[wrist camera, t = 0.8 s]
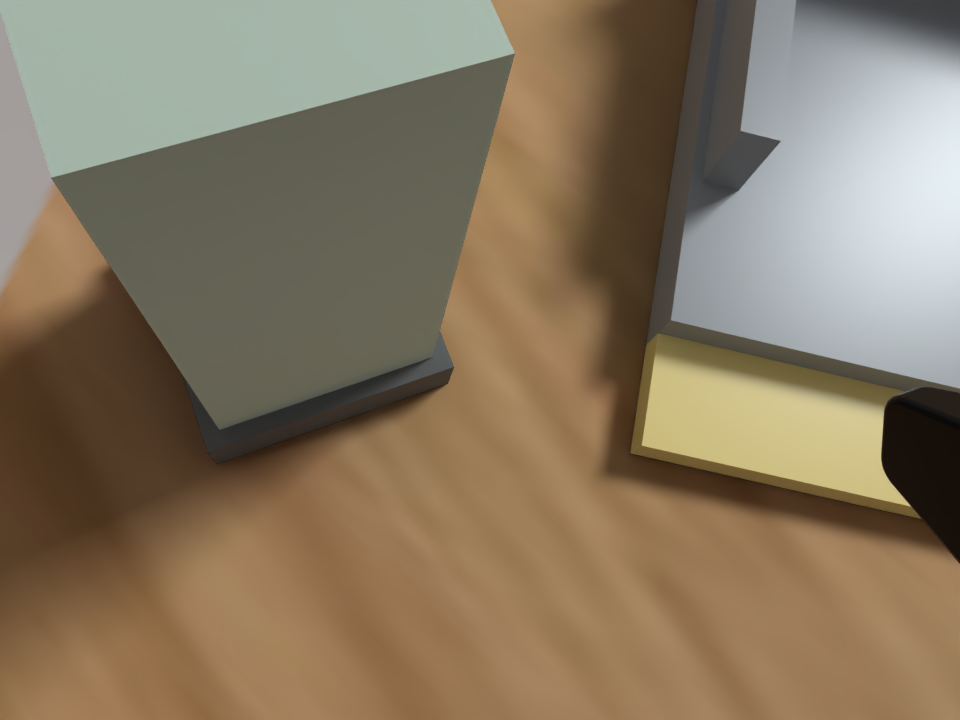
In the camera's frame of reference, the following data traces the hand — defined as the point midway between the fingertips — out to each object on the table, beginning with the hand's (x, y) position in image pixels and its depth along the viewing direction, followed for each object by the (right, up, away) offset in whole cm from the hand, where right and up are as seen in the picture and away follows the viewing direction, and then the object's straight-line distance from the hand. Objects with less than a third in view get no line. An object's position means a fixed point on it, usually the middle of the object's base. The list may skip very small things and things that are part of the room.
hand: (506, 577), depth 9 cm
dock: (+11, +6, +17) cm, 22 cm away
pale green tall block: (-5, +3, +14) cm, 16 cm away
